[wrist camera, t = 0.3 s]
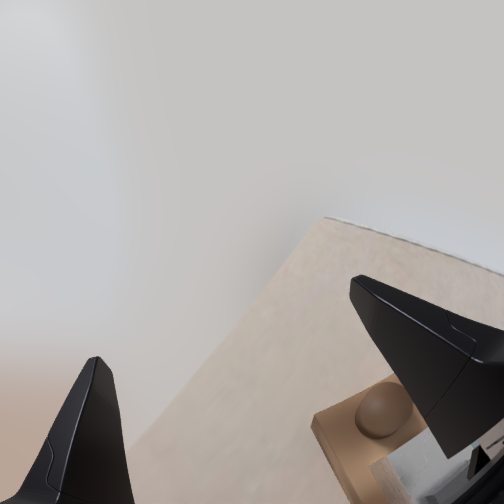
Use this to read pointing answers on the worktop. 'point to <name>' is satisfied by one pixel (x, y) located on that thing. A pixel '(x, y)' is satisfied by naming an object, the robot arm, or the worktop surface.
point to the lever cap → (421, 472)
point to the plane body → (366, 435)
